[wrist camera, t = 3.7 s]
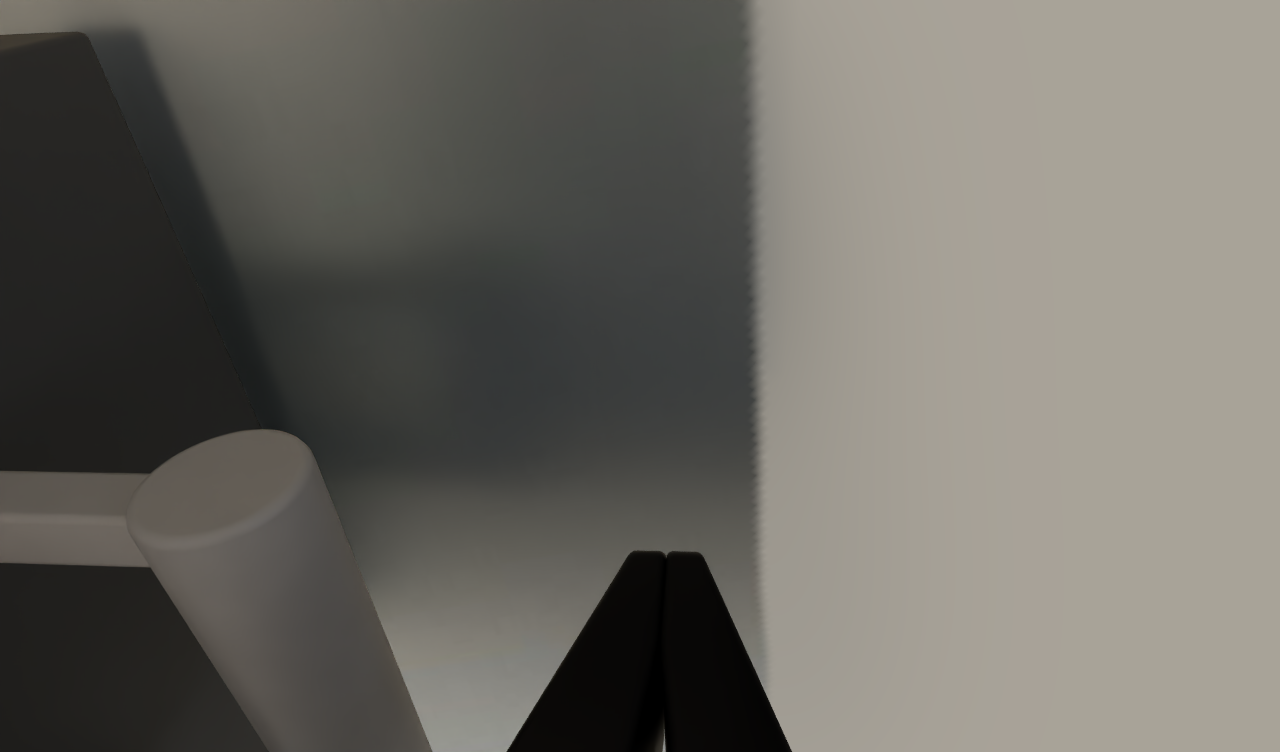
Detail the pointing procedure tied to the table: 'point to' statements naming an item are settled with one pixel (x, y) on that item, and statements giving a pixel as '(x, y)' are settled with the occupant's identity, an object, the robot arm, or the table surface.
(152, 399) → the drawer
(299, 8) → the table surface
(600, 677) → the robot arm
